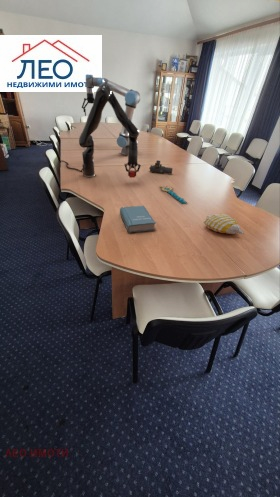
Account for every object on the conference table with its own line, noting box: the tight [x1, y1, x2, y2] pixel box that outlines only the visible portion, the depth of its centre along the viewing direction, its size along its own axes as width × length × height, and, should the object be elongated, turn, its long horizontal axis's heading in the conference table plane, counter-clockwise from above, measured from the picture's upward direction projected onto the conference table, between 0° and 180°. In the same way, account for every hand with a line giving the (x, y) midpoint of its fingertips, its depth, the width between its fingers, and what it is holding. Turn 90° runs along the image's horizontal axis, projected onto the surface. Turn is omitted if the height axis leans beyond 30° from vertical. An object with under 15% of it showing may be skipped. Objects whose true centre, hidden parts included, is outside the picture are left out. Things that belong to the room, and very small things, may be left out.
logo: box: [159, 185, 188, 204], centre depth 175 cm, size 34×10×1 cm, turn 16°
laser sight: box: [148, 160, 173, 175], centre depth 216 cm, size 10×22×10 cm, turn 78°
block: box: [129, 169, 136, 179], centre depth 186 cm, size 4×4×5 cm
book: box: [119, 205, 156, 233], centre depth 136 cm, size 23×16×5 cm
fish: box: [203, 213, 245, 235], centre depth 133 cm, size 25×8×20 cm
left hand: (132, 176), depth 187 cm, fingers closed on block, 4 cm apart
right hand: (91, 116), depth 247 cm, fingers open, 13 cm apart
